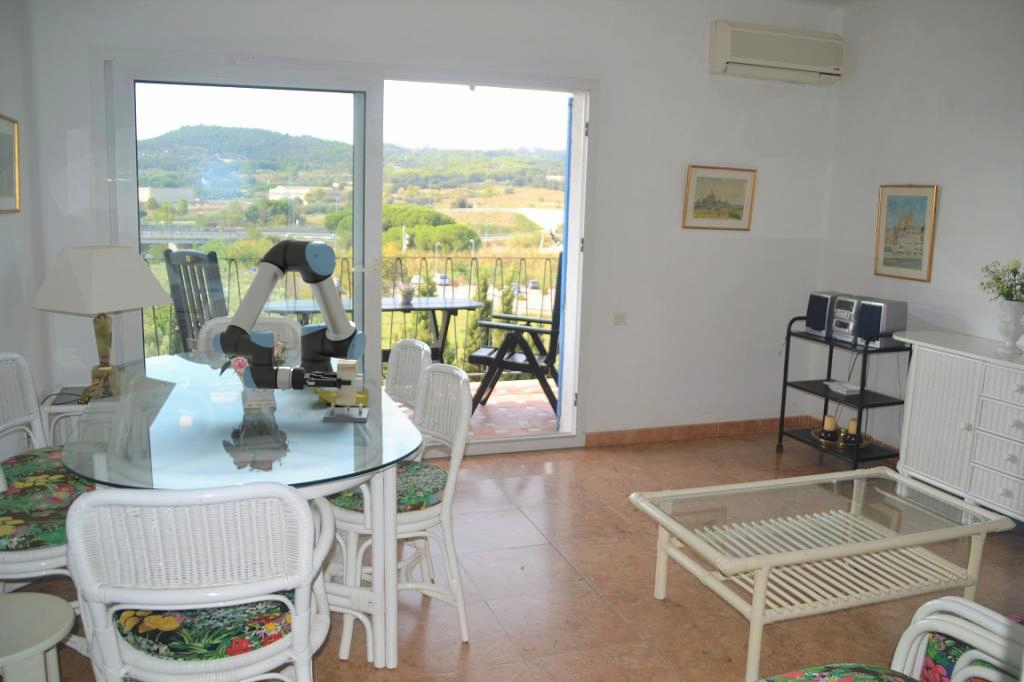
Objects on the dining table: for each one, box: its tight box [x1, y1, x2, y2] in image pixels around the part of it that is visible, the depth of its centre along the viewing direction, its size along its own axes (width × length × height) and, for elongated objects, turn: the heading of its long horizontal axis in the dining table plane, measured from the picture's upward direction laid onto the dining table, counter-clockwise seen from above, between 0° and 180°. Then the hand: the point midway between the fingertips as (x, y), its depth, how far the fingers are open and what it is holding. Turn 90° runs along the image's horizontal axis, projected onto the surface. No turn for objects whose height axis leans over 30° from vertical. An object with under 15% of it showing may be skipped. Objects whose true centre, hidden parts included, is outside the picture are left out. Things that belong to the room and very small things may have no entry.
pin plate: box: [323, 403, 370, 423], centre depth 277 cm, size 12×14×4 cm
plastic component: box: [310, 387, 370, 408], centre depth 294 cm, size 20×7×10 cm
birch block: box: [336, 359, 358, 405], centre depth 275 cm, size 6×6×14 cm
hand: (362, 380), depth 275 cm, fingers closed on birch block, 6 cm apart
